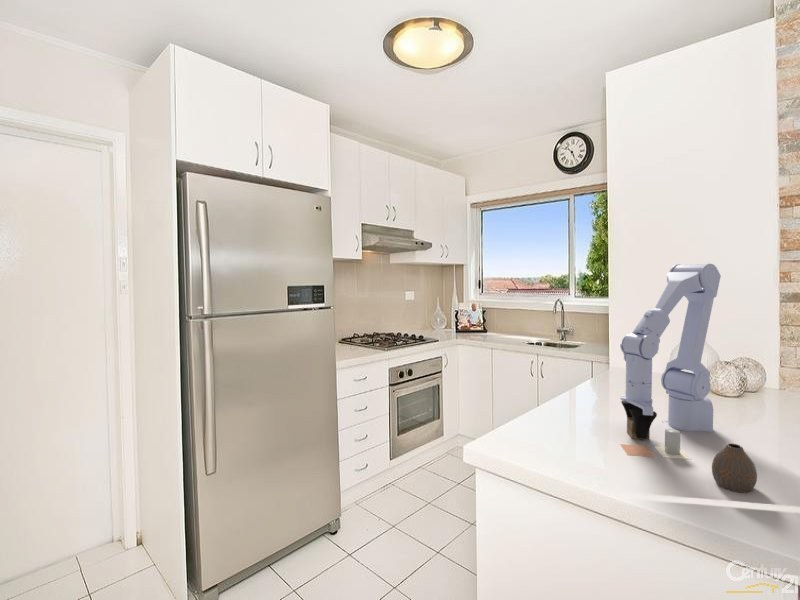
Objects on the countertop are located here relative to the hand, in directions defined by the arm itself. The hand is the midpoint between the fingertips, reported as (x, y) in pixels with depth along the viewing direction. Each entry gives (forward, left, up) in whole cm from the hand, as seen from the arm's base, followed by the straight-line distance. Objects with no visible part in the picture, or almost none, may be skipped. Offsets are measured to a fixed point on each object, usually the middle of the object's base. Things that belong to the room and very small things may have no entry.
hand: (637, 433), depth 106 cm
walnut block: (0, 0, -2) cm, 2 cm away
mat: (0, +9, -1) cm, 9 cm away
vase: (-10, +23, -2) cm, 25 cm away
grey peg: (-4, +9, -1) cm, 10 cm away
